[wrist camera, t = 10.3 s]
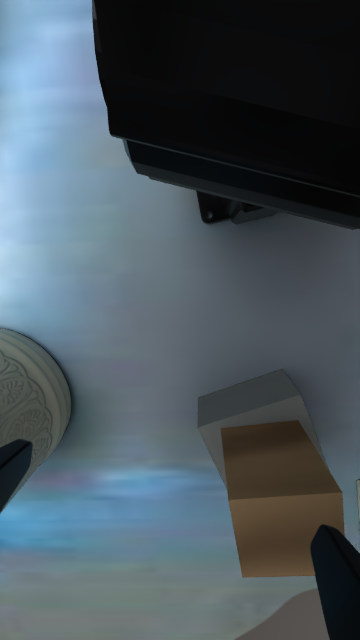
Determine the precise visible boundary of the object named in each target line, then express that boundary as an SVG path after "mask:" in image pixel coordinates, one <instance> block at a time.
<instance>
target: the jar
mask: <svg viewBox="0 0 360 640" xmlns="http://www.w3.org/2000/svg"><path fill="white" fill-rule="evenodd" d="M70 415H71V397H70V391H69V388H68V384H67V382H66V379H65V377H64V375H63V373H62V371H61V370H60V368H59V367H58V365H57V364H56V362H55V361H54V360H53V359H52V357H51V356H50V355H49V354H48V353H47V352H46V351H45V350H44V349H43V348H41V347H40V346H39V345H38V344H36V343H35V342H33V341H32V340H30V339H29V338H27V337H25V336H23V335H21V334H19V333H16V332H14V331H10V330H7V329H3V328H0V447H2V446H4V445H6V444H8V443H10V442H12V441H14V440H16V439H24V440H28V441H31V442H32V444H33V448H32V457H31V464H30V467H29V469H28V471H27V472H26V474H25V476H24V477H23V479H22V480H21V482H20V483H19V485H18V486H17V488H16V489H15V491H14V492H13V494H12V495H11V497H10V499H9V500H8V502H7V503H6V505H5V506H4V508H3V509H2V511H3V510H4V509H5V507H6V506H7V505H8V504H9V502H10V501H11V500H12V499H13V497H14V496H15V495H16V494H17V492H18V491H19V490H20V489H21V487H22V486H23V485H24V484H25V482H26V481H27V480H28V479H29V477H30V476H31V475H32V474H33V472H34V471H35V470H36V469H37V467H39V466H40V465H41V464H42V463H43V462H44V461H45V460H47V458H48V457H49V456H50V455H51V453H52V452H53V451H54V449H55V448H56V447H57V445H58V444H59V442H60V440H61V438H62V436H63V433H64V431H65V429H66V427H67V425H68V422H69V419H70ZM2 511H1V512H2ZM1 512H0V514H1Z"/></svg>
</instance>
